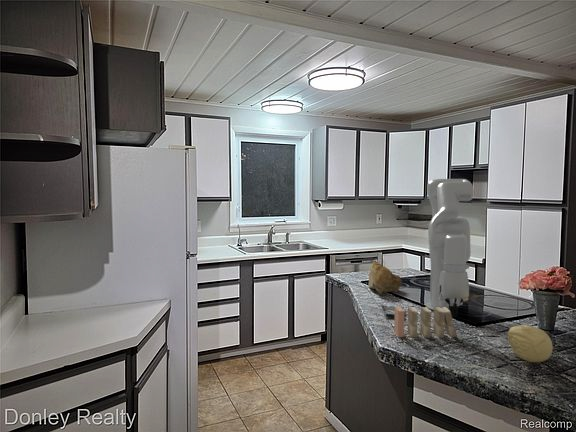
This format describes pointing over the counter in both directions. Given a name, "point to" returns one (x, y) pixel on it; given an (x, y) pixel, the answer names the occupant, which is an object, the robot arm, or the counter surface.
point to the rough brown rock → (383, 279)
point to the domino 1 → (399, 322)
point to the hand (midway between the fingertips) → (453, 315)
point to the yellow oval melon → (530, 343)
